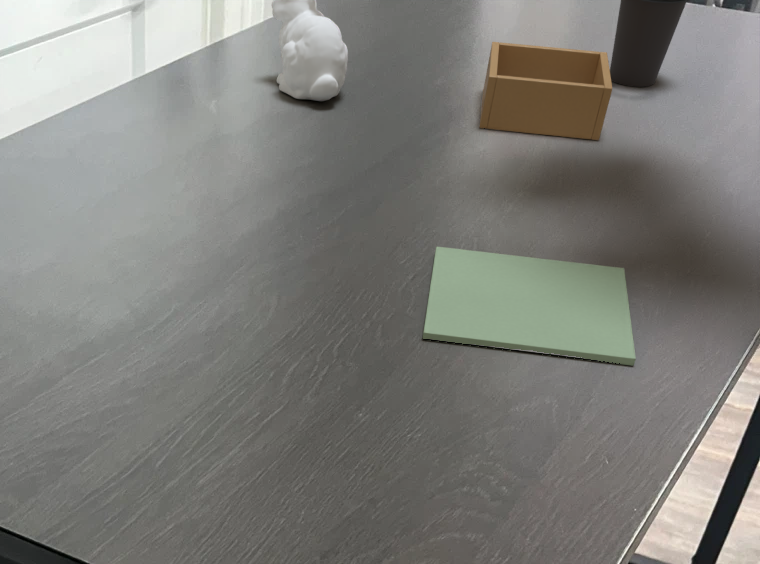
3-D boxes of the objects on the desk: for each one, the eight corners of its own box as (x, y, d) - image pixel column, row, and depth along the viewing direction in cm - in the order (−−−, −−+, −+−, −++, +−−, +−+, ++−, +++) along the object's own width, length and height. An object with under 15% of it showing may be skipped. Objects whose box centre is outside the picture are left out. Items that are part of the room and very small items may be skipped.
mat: (622, 274, 94) (624, 267, 94) (633, 366, 83) (635, 358, 83) (435, 253, 96) (436, 246, 95) (422, 339, 85) (423, 332, 84)
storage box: (594, 101, 125) (607, 52, 121) (598, 140, 116) (612, 88, 113) (483, 90, 126) (492, 41, 123) (479, 128, 118) (489, 76, 114)
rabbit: (260, 76, 127) (267, -48, 118) (335, 71, 129) (347, -51, 121) (296, 112, 119) (306, -18, 111) (376, 106, 121) (392, -22, 113)
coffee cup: (676, 78, 132) (706, -20, 124) (652, 95, 127) (681, -6, 120) (612, 64, 135) (637, -33, 128) (586, 80, 130) (610, -20, 123)
